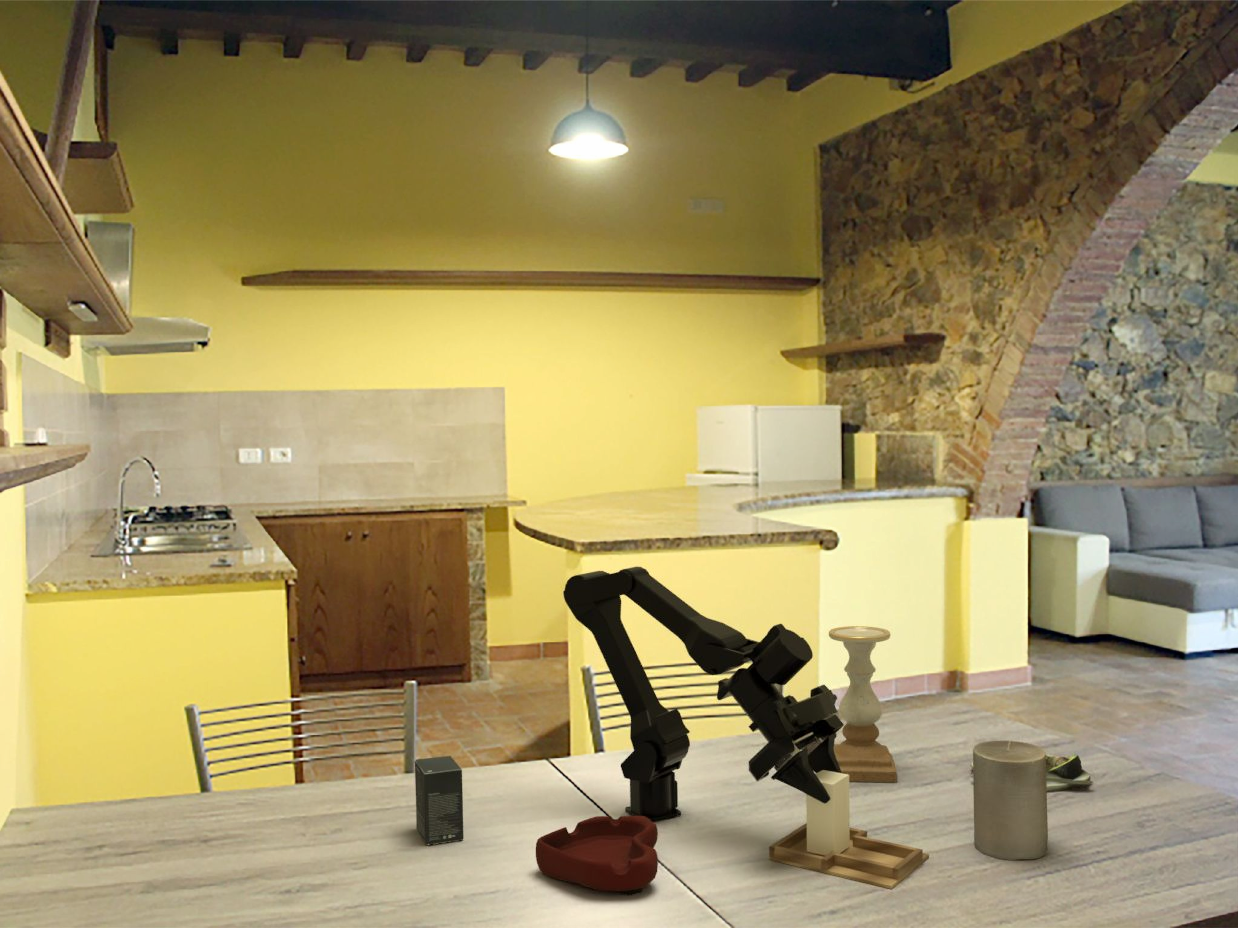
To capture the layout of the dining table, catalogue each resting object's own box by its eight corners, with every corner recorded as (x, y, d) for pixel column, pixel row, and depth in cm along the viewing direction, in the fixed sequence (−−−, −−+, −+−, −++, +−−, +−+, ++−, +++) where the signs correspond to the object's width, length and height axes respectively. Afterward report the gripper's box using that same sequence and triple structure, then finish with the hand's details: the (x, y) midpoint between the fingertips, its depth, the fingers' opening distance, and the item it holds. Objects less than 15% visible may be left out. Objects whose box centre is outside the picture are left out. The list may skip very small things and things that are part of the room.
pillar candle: (994, 829, 166) (992, 726, 165) (1060, 846, 159) (1058, 739, 158) (960, 849, 159) (958, 742, 158) (1028, 867, 152) (1026, 755, 151)
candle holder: (826, 761, 200) (824, 625, 199) (891, 762, 198) (889, 625, 197) (829, 781, 189) (827, 637, 188) (897, 782, 187) (896, 637, 186)
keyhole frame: (769, 859, 156) (769, 846, 156) (811, 831, 166) (811, 819, 166) (891, 888, 146) (891, 874, 146) (929, 857, 156) (928, 843, 156)
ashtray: (542, 849, 162) (542, 814, 162) (658, 848, 162) (657, 813, 162) (528, 902, 145) (527, 863, 144) (658, 901, 144) (657, 862, 144)
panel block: (806, 851, 157) (806, 779, 157) (823, 839, 161) (822, 769, 161) (833, 857, 155) (833, 784, 154) (849, 845, 159) (849, 774, 158)
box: (464, 840, 166) (462, 768, 165) (425, 846, 164) (423, 773, 164) (453, 823, 173) (451, 753, 173) (415, 828, 171) (413, 758, 171)
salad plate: (994, 802, 178) (994, 772, 178) (944, 767, 196) (944, 741, 196) (1109, 793, 181) (1109, 764, 181) (1049, 760, 199) (1049, 733, 199)
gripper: (767, 683, 152) (845, 780, 146) (830, 657, 167) (903, 744, 161) (717, 733, 157) (790, 828, 151) (782, 703, 172) (851, 790, 166)
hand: (836, 795), depth 157 cm, fingers closed on panel block, 5 cm apart
